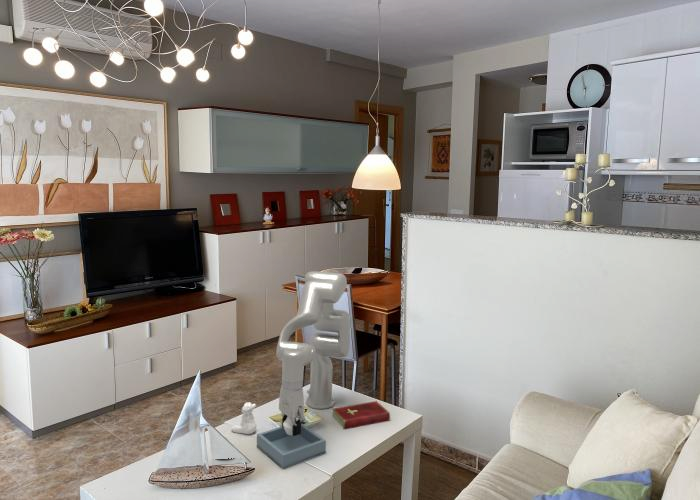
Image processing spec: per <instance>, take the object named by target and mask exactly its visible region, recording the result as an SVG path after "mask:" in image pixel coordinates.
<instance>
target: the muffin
mask: <svg viewBox="0 0 700 500" xmlns="http://www.w3.org/2000/svg"><path fill="white" fill-rule="evenodd" d="M297 420H298V418H296V421H297ZM293 425H294V422H293V419H291V418H290V417H287V419H286V420H285V421H284V423H283V427H284V429H285V431H286V433H287V435H293Z"/></svg>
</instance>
